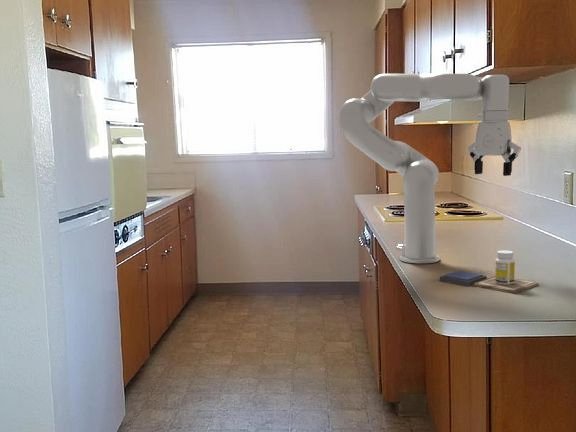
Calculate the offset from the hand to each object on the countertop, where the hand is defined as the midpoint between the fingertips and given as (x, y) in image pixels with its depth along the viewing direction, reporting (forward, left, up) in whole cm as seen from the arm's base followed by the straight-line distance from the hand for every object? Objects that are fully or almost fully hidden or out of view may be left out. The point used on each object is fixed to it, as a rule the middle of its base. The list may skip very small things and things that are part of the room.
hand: (492, 174), depth 183 cm
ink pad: (+6, -24, -27) cm, 37 cm away
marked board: (+17, -21, -27) cm, 38 cm away
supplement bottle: (+16, -21, -27) cm, 38 cm away
